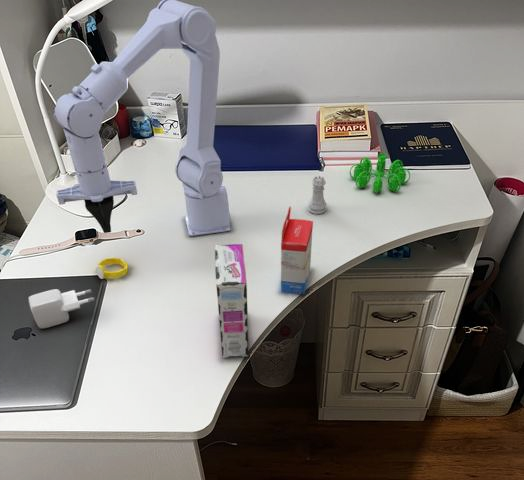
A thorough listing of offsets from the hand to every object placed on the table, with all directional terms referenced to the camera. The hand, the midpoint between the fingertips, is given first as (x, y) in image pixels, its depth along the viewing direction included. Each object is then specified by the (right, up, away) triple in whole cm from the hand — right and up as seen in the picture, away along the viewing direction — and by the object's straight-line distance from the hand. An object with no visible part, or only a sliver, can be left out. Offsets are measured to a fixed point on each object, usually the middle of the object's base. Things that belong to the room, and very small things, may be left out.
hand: (107, 230), depth 107 cm
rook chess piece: (+44, +9, +20) cm, 49 cm away
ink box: (+38, -10, +2) cm, 39 cm away
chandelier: (+60, +19, +29) cm, 70 cm away
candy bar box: (+26, -22, -10) cm, 35 cm away
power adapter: (-6, -18, -5) cm, 19 cm away
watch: (+2, -6, +6) cm, 8 cm away
